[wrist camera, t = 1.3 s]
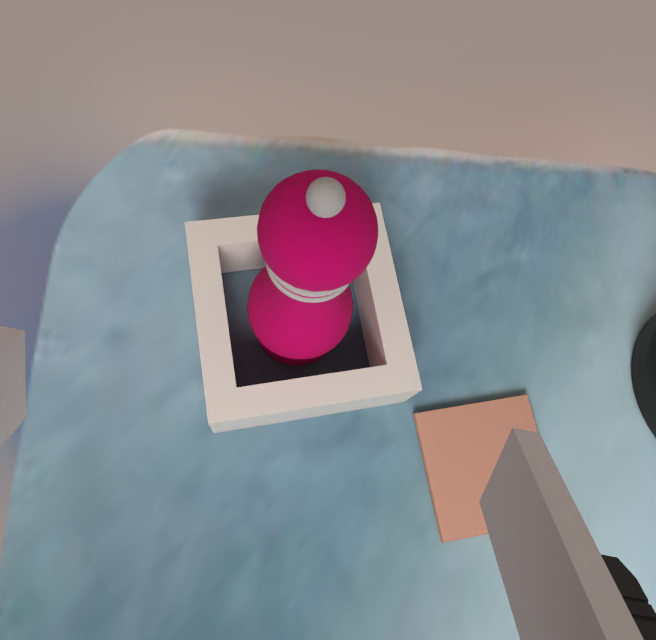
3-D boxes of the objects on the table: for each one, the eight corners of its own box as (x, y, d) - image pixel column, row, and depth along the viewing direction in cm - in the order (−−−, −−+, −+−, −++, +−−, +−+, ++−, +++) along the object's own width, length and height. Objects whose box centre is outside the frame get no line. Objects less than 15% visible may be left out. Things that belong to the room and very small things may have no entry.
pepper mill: (258, 381, 41) (261, 279, 22) (239, 290, 43) (228, 125, 24) (352, 362, 43) (431, 249, 24) (330, 274, 45) (386, 106, 26)
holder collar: (366, 233, 46) (379, 202, 41) (403, 402, 42) (422, 389, 37) (192, 252, 44) (184, 222, 39) (213, 433, 40) (208, 424, 35)
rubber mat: (524, 395, 43) (527, 394, 43) (558, 517, 41) (561, 517, 40) (412, 414, 42) (414, 413, 41) (441, 542, 39) (443, 542, 39)
